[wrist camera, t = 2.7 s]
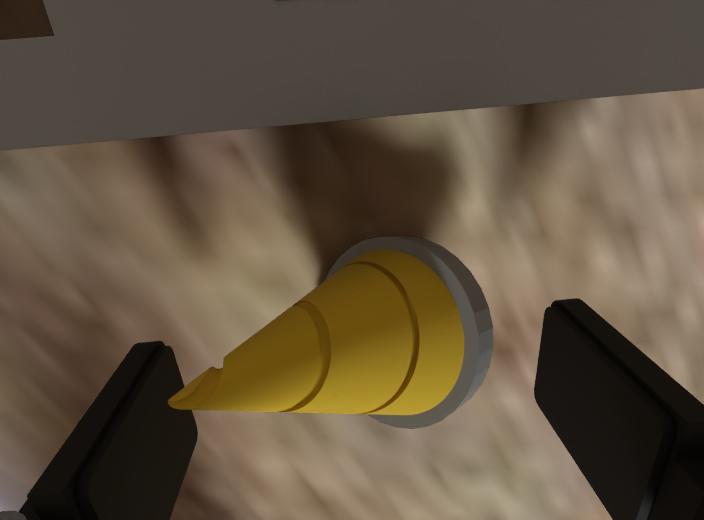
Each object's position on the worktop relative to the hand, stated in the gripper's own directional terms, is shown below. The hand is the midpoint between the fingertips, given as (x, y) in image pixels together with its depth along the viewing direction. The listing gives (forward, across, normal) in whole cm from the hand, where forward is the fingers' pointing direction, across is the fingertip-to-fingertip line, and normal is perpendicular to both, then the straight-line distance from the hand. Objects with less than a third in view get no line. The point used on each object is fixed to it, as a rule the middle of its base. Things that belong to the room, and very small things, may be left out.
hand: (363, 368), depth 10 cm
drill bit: (+4, 0, 0) cm, 4 cm away
